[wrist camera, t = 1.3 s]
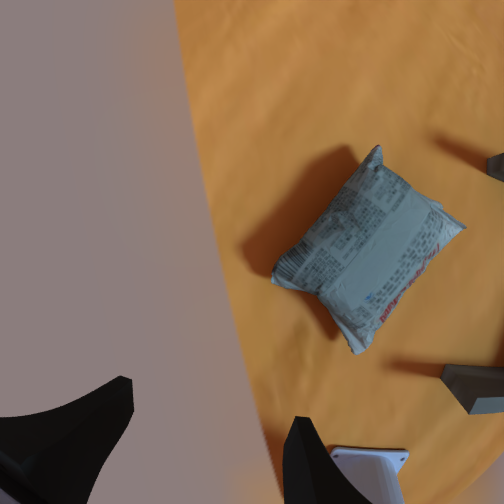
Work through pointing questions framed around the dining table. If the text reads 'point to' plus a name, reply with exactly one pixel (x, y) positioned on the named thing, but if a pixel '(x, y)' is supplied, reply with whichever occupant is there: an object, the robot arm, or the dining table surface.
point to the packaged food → (367, 249)
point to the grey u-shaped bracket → (477, 377)
